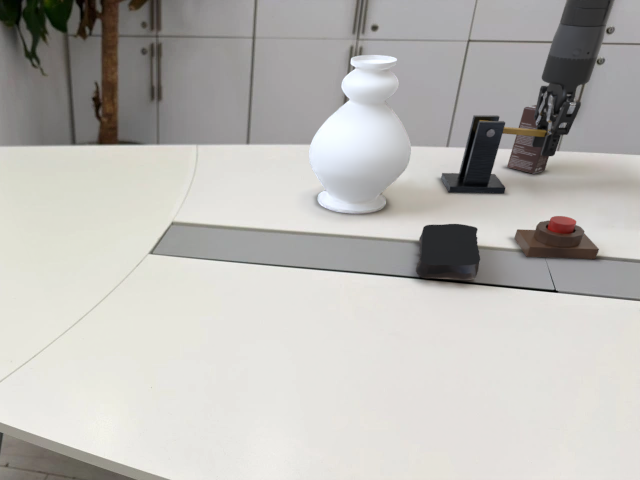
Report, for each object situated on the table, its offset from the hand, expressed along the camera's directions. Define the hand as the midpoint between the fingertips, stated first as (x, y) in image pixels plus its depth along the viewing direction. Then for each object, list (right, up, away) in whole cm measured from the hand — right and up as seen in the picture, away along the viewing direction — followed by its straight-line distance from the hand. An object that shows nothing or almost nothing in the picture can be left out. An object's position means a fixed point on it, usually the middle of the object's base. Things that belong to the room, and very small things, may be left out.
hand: (542, 150), depth 127 cm
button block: (-9, -22, -18) cm, 30 cm away
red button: (-10, -20, -20) cm, 30 cm away
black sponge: (-28, -25, -21) cm, 43 cm away
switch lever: (-6, +2, 0) cm, 6 cm away
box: (+4, 0, +13) cm, 13 cm away
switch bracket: (-10, -5, +6) cm, 13 cm away
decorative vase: (-36, -9, +2) cm, 37 cm away
